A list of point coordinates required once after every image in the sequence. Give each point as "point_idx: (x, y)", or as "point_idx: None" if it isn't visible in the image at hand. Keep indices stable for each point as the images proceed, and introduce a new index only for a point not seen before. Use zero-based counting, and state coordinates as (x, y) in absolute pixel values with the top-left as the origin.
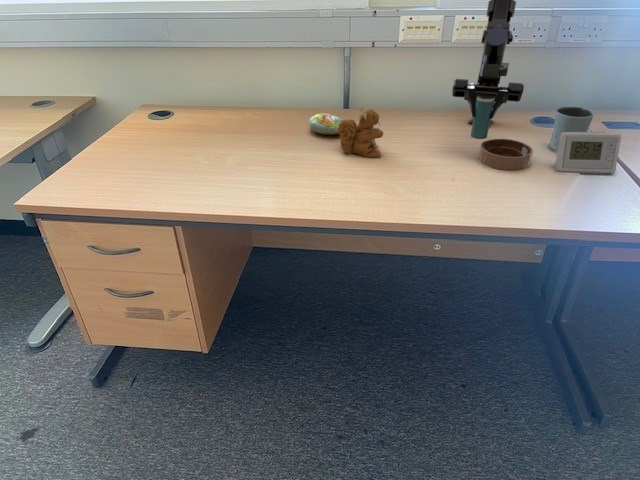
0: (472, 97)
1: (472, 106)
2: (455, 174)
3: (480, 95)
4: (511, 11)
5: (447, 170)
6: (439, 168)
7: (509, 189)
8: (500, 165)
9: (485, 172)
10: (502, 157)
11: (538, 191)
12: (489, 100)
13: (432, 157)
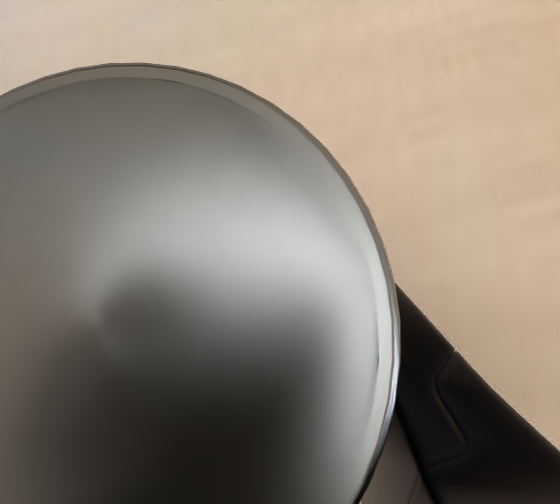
0: (512, 476)
1: (409, 320)
2: (366, 117)
3: (282, 421)
4: None
5: (411, 152)
6: (455, 164)
7: (127, 37)
8: None
9: None
10: None
11: (13, 54)
12: (38, 98)
13: (518, 301)
